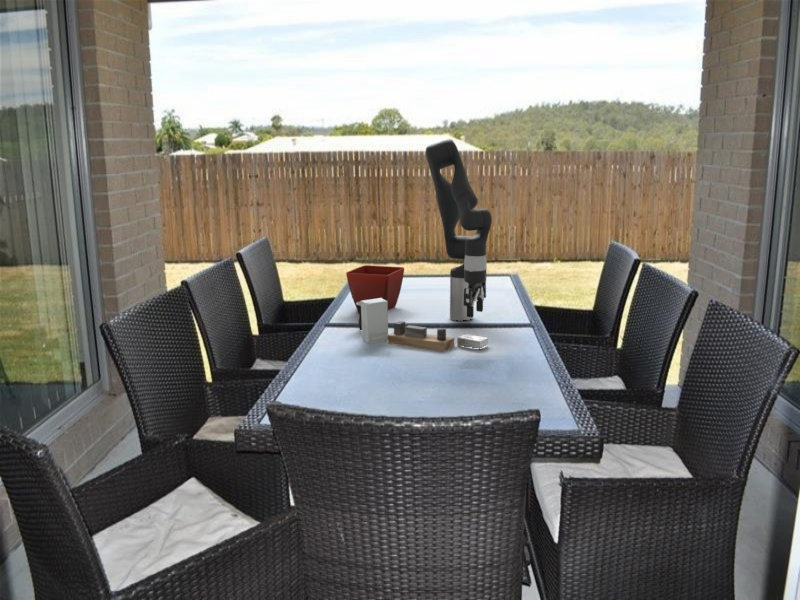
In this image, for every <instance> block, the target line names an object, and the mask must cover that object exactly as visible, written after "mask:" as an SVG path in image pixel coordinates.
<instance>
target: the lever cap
mask: <svg viewBox="0 0 800 600" xmlns="http://www.w3.org/2000/svg"><path fill="white" fill-rule="evenodd" d="M488 342H489V338H488V337H485V336H480V335H473V334H468V333H467V334H466V333H465V334H462V335H460V336H458V337H457V342H456V346H464V347H472V348H479V349H480V348H482V347H484V346H486V345H489V343H488Z"/></svg>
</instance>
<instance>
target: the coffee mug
mask: <svg viewBox="0 0 800 600" xmlns="http://www.w3.org/2000/svg"><path fill="white" fill-rule="evenodd" d="M356 306H357V308H356V311H357V319H358V327H359V331H361V330H362V319H361V302H357V303H356ZM356 306H355V307H356Z"/></svg>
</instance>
